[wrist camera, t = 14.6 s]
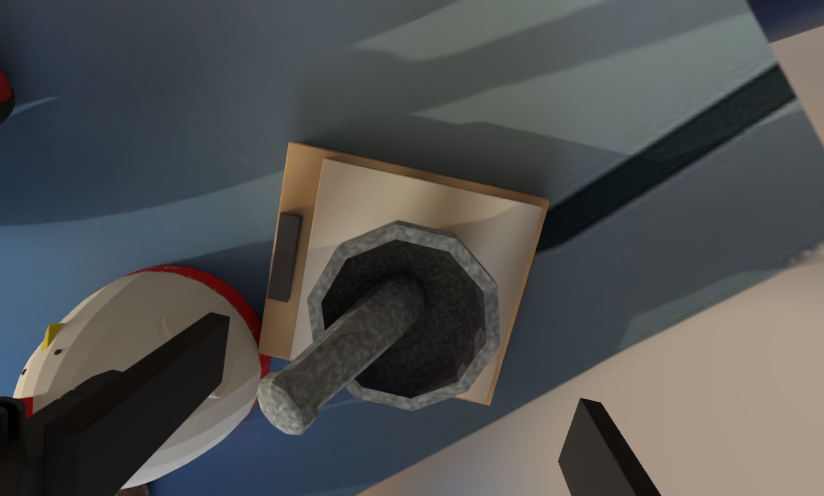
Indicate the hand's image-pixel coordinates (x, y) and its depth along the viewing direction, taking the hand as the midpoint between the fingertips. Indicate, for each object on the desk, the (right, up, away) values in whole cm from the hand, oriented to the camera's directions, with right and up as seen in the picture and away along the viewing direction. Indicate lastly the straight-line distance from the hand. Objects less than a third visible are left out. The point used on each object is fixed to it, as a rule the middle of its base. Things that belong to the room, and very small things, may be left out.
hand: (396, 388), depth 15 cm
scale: (-1, +3, +15) cm, 15 cm away
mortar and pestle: (0, +3, +12) cm, 13 cm away
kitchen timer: (-17, -3, +17) cm, 24 cm away
